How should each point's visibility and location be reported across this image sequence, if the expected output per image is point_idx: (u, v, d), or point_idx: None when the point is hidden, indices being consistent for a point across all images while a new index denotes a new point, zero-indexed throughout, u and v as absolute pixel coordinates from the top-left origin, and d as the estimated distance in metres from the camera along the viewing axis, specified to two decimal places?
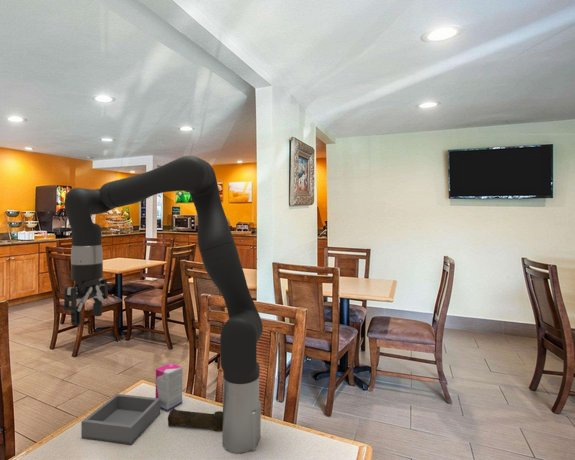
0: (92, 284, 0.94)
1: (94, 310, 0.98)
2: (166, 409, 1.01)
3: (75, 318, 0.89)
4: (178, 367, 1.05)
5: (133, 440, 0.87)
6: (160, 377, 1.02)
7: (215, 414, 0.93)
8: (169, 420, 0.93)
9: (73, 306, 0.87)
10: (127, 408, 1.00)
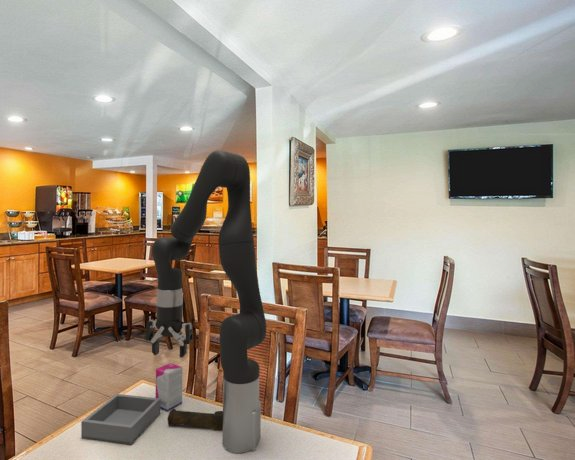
0: None
1: (155, 350, 1.04)
2: (166, 409, 1.01)
3: (186, 350, 1.04)
4: (178, 367, 1.05)
5: (133, 440, 0.87)
6: (160, 376, 1.02)
7: (215, 414, 0.93)
8: (169, 420, 0.93)
9: None
10: (127, 408, 1.00)
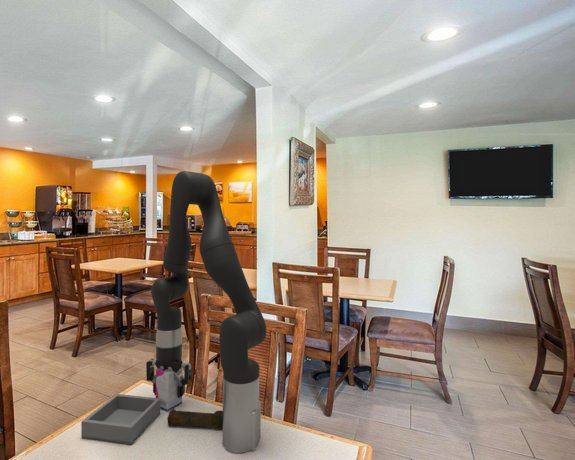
0: None
1: None
2: (166, 409, 1.01)
3: (184, 389, 1.04)
4: None
5: (133, 440, 0.87)
6: (160, 376, 1.02)
7: (215, 413, 0.93)
8: (169, 421, 0.93)
9: None
10: (127, 408, 1.00)
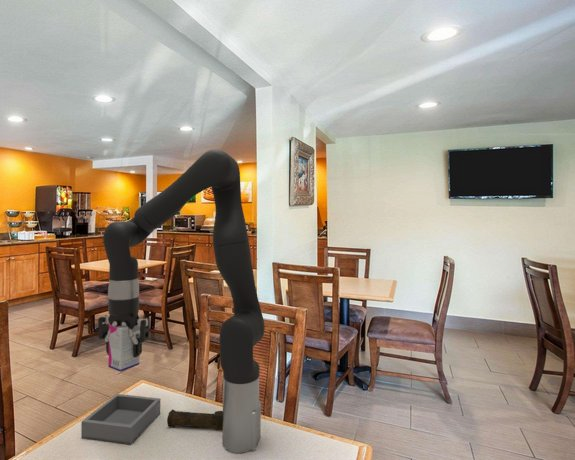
0: None
1: None
2: (119, 369, 0.89)
3: (141, 349, 0.93)
4: None
5: (133, 440, 0.87)
6: (113, 333, 0.91)
7: (215, 414, 0.93)
8: (168, 421, 0.93)
9: None
10: (127, 408, 1.00)
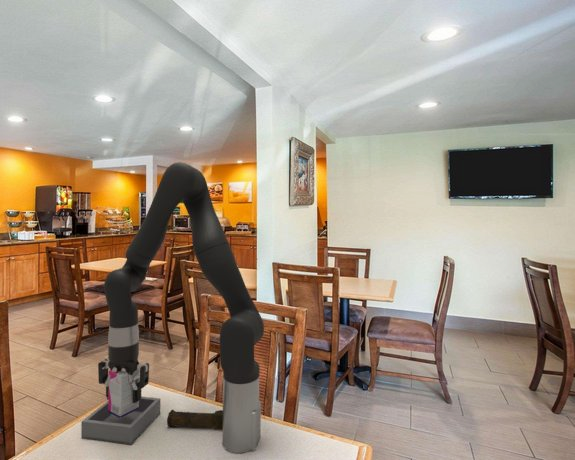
0: None
1: None
2: (119, 416, 0.90)
3: (140, 394, 0.93)
4: None
5: (133, 440, 0.87)
6: (113, 379, 0.91)
7: (216, 413, 0.93)
8: (168, 422, 0.93)
9: None
10: None
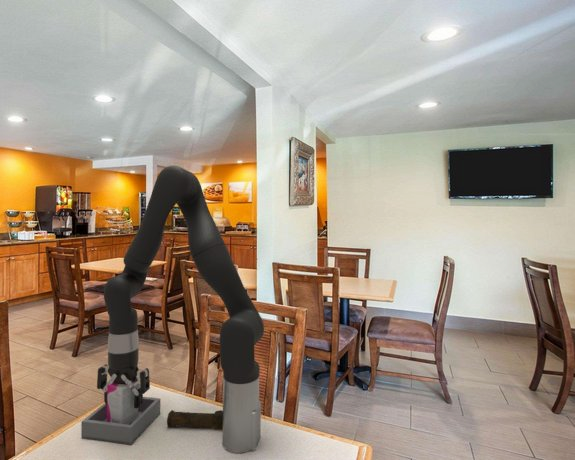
0: None
1: None
2: None
3: (142, 399, 0.93)
4: (133, 380, 0.94)
5: (133, 440, 0.87)
6: (112, 392, 0.91)
7: (216, 413, 0.93)
8: (168, 422, 0.92)
9: None
10: None
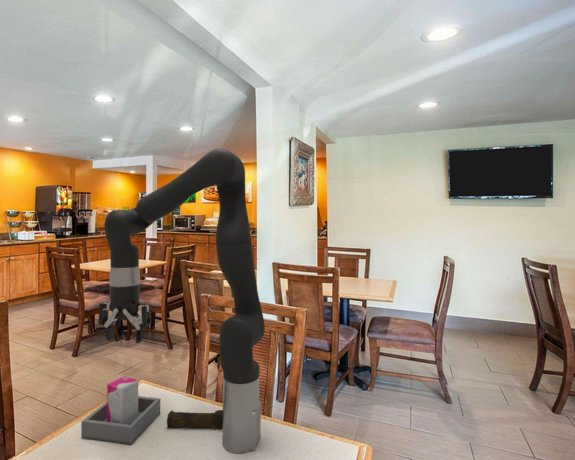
0: None
1: (109, 335, 0.94)
2: None
3: (143, 334, 0.94)
4: (133, 380, 0.94)
5: (133, 440, 0.87)
6: (112, 393, 0.91)
7: (216, 413, 0.93)
8: (168, 422, 0.92)
9: None
10: None
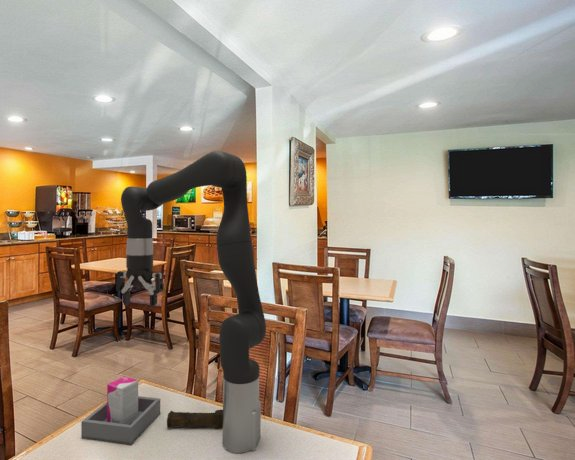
0: None
1: (126, 300, 1.04)
2: None
3: (156, 300, 1.04)
4: (133, 380, 0.94)
5: (133, 440, 0.87)
6: (112, 393, 0.91)
7: (216, 413, 0.93)
8: (168, 423, 0.92)
9: None
10: None
